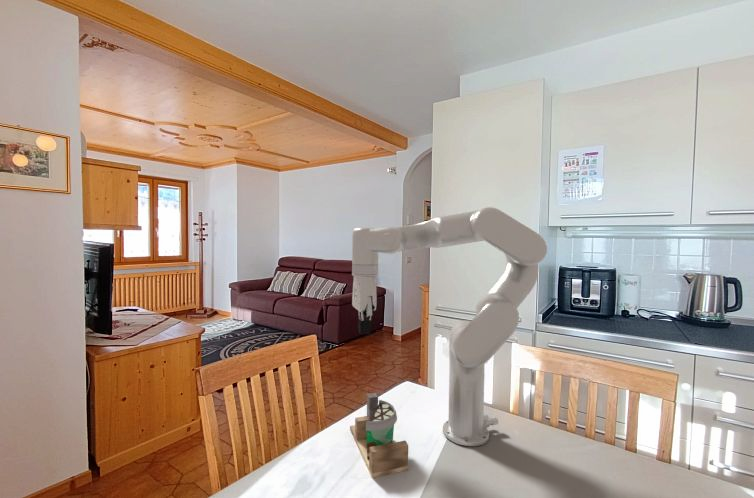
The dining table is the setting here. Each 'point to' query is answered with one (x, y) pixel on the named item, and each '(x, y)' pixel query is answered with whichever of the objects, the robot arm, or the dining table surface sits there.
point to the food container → (381, 425)
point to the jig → (383, 456)
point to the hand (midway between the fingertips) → (364, 333)
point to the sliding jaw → (365, 417)
